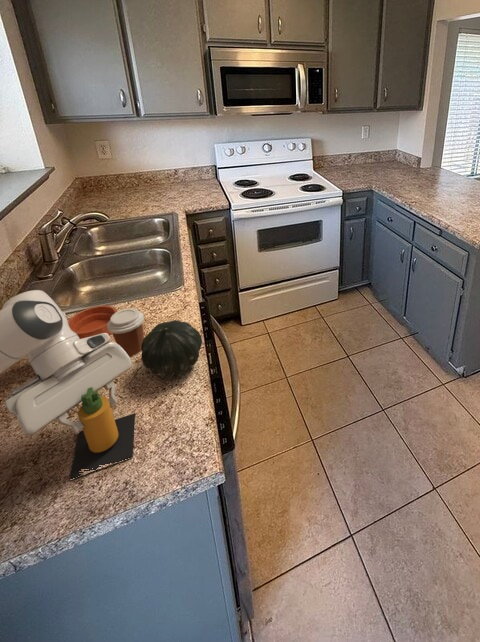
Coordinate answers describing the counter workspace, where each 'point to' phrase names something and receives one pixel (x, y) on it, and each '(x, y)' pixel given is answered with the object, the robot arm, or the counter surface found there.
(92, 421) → the pineapple
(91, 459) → the mat
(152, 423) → the counter surface
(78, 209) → the counter surface
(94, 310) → the bowl
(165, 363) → the squash
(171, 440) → the counter surface
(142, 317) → the coffee cup
